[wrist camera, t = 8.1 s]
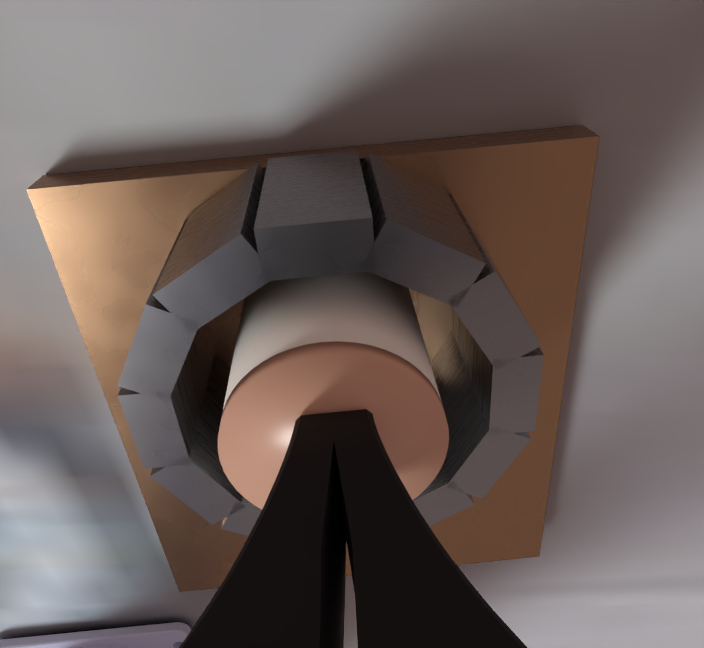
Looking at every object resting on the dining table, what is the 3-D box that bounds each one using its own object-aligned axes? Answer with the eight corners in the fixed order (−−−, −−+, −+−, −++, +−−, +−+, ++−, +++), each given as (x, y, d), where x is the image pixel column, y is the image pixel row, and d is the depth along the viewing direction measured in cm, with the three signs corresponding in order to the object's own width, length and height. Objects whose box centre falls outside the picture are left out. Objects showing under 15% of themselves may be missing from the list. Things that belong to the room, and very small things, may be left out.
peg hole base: (530, 533, 22) (581, 669, 18) (184, 567, 22) (154, 712, 18) (583, 116, 14) (697, 187, 10) (40, 166, 14) (-75, 259, 10)
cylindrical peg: (413, 372, 17) (448, 515, 13) (258, 388, 17) (240, 535, 13) (409, 227, 14) (449, 342, 10) (228, 244, 14) (194, 367, 10)
